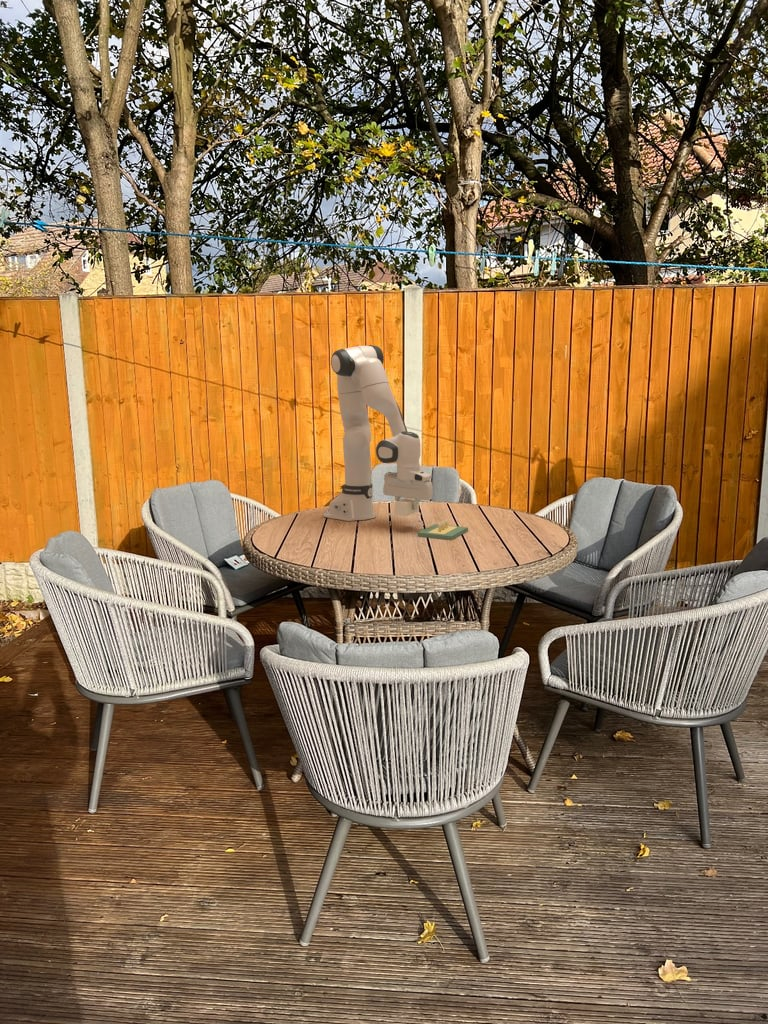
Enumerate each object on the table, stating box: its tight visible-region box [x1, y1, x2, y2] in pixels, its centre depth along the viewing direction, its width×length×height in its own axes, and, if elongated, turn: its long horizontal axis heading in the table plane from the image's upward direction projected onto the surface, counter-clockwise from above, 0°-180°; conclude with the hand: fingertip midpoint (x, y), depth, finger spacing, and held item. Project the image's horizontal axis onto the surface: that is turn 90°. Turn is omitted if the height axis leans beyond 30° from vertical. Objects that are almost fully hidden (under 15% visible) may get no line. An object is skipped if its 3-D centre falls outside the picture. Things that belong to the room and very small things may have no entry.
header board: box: [416, 518, 469, 541], centre depth 291 cm, size 14×16×5 cm
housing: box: [394, 498, 420, 517], centre depth 297 cm, size 5×11×5 cm, turn 152°
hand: (407, 508), depth 298 cm, fingers closed on housing, 5 cm apart
